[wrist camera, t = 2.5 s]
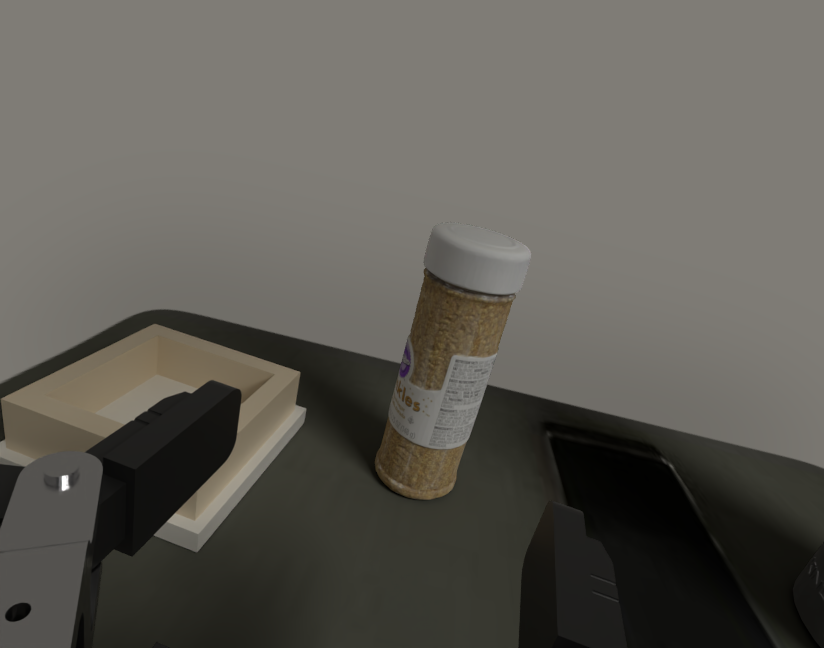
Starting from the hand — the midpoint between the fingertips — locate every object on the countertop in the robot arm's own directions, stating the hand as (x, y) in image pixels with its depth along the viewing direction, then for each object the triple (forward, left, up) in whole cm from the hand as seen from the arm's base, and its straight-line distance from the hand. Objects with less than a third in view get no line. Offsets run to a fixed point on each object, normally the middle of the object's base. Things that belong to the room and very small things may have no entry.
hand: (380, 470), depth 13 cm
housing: (+12, -8, -10) cm, 17 cm away
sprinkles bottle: (0, -12, -10) cm, 16 cm away
